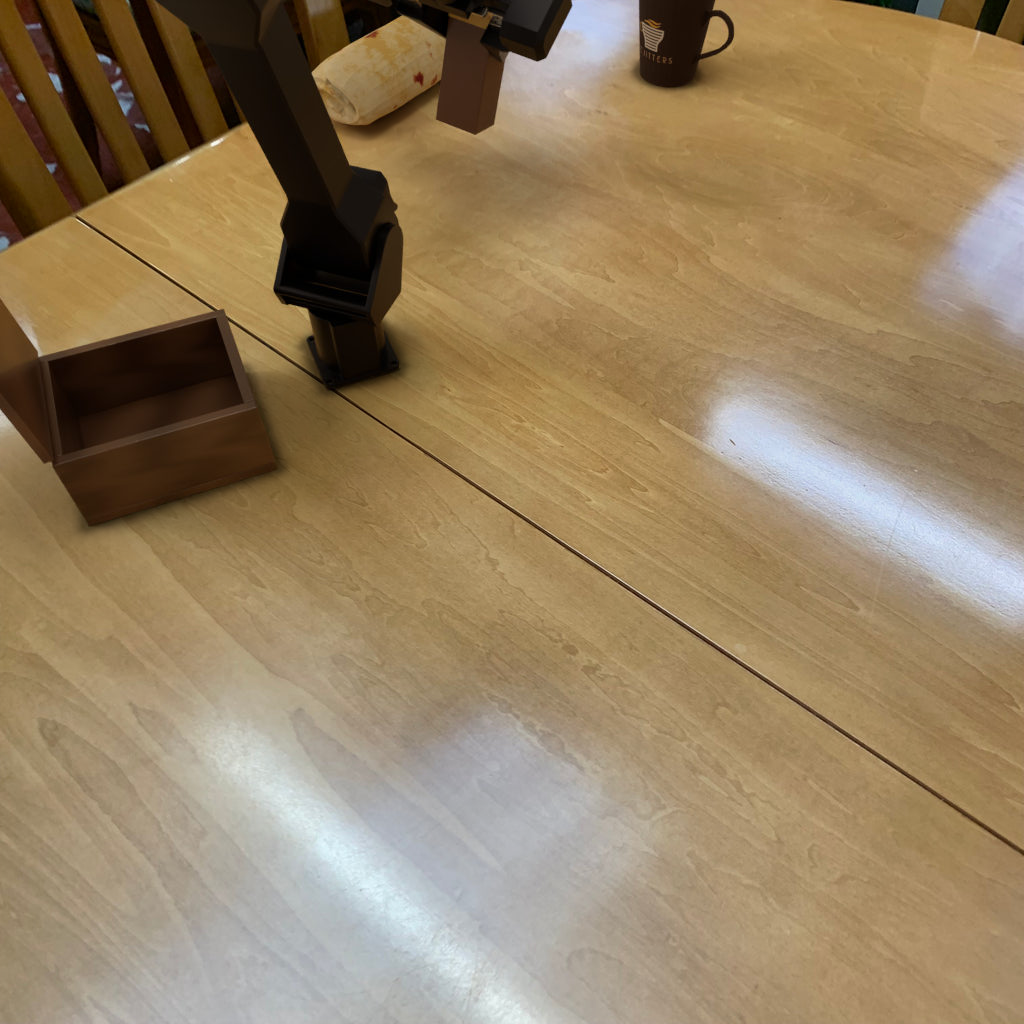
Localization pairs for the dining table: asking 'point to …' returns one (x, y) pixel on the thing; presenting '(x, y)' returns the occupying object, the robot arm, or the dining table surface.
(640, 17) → the coffee mug
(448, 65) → the chocolate box
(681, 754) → the dining table surface
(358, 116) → the food model
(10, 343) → the chest lid
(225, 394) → the chest
